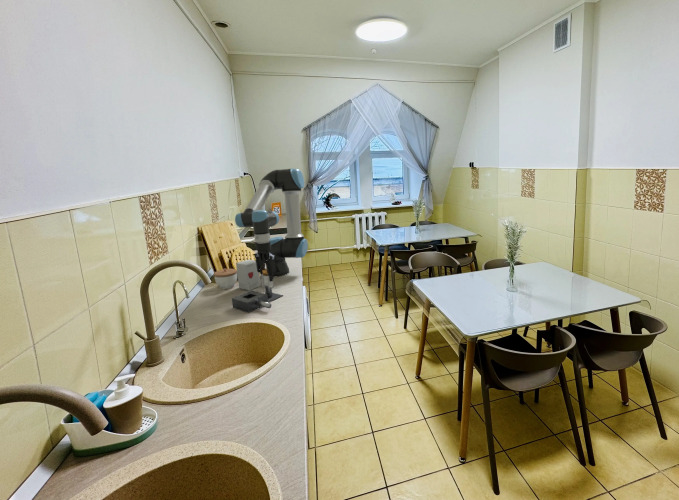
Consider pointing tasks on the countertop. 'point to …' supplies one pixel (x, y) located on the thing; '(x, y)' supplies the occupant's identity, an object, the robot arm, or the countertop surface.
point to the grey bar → (266, 283)
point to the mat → (274, 297)
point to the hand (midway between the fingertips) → (268, 286)
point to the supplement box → (248, 275)
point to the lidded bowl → (226, 278)
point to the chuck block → (250, 301)
